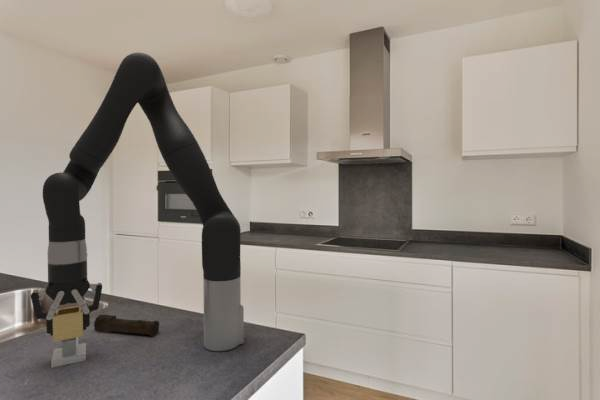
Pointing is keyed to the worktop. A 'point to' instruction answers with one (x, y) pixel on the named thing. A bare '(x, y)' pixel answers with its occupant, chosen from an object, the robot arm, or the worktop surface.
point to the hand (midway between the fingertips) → (69, 331)
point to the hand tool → (125, 325)
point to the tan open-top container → (67, 323)
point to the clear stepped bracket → (69, 353)
